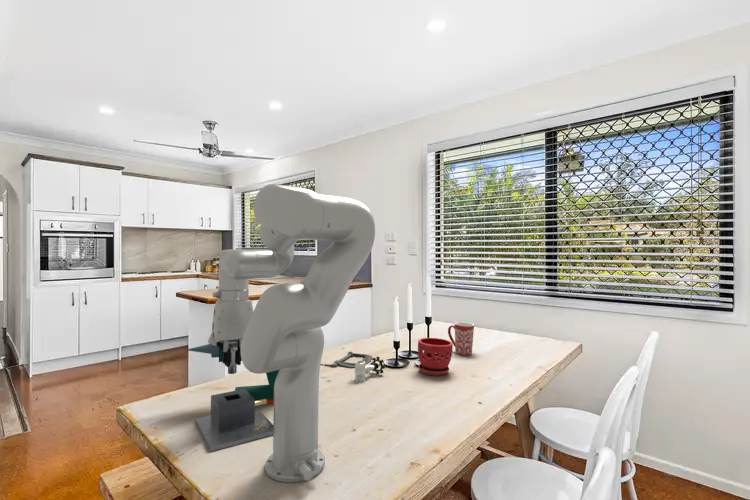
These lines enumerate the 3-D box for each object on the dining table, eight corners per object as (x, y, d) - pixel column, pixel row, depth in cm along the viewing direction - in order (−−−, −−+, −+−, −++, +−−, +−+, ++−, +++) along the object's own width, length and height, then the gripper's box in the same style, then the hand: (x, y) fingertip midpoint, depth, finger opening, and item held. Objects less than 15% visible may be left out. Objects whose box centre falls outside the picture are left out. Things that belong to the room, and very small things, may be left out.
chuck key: (239, 375, 103) (240, 344, 103) (230, 376, 101) (231, 346, 101) (233, 368, 108) (233, 339, 107) (225, 370, 106) (225, 340, 106)
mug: (478, 353, 177) (478, 323, 176) (467, 357, 170) (467, 326, 170) (454, 348, 185) (454, 319, 185) (443, 351, 179) (443, 322, 179)
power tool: (181, 412, 111) (181, 342, 111) (186, 402, 118) (186, 336, 117) (295, 402, 119) (296, 336, 119) (294, 393, 126) (295, 331, 126)
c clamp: (354, 373, 149) (354, 365, 149) (317, 366, 157) (317, 359, 157) (378, 359, 167) (378, 353, 167) (343, 354, 175) (343, 348, 175)
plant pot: (437, 380, 141) (437, 347, 140) (410, 371, 150) (410, 340, 150) (459, 372, 149) (459, 341, 149) (432, 364, 159) (433, 335, 159)
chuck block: (281, 432, 99) (281, 405, 99) (210, 451, 90) (210, 421, 90) (258, 408, 114) (258, 384, 114) (195, 422, 105) (195, 396, 105)
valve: (362, 384, 136) (385, 376, 145) (362, 365, 136) (385, 358, 145) (349, 379, 140) (372, 372, 149) (349, 361, 140) (372, 354, 149)
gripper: (204, 299, 96) (203, 373, 97) (267, 295, 105) (266, 363, 106) (198, 295, 103) (197, 365, 103) (258, 292, 112) (257, 356, 112)
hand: (232, 364), depth 104 cm, fingers closed on chuck key, 2 cm apart
